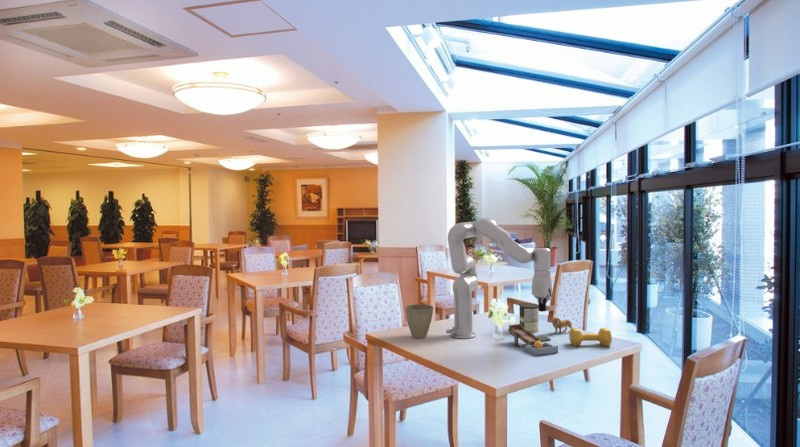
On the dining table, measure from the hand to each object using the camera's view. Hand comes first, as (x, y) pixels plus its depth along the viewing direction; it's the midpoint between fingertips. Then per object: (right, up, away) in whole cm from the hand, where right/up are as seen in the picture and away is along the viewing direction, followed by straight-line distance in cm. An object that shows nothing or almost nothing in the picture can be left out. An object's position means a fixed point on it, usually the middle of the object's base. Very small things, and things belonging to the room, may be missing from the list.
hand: (542, 310), depth 232 cm
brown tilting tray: (-5, -14, +5) cm, 16 cm away
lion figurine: (+18, -17, +25) cm, 35 cm away
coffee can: (+2, -17, +30) cm, 34 cm away
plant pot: (-59, -18, +20) cm, 65 cm away
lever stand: (-8, -17, +3) cm, 19 cm away
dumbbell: (+24, -17, +1) cm, 29 cm away
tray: (-3, -17, -9) cm, 20 cm away
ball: (-4, -15, -7) cm, 17 cm away
